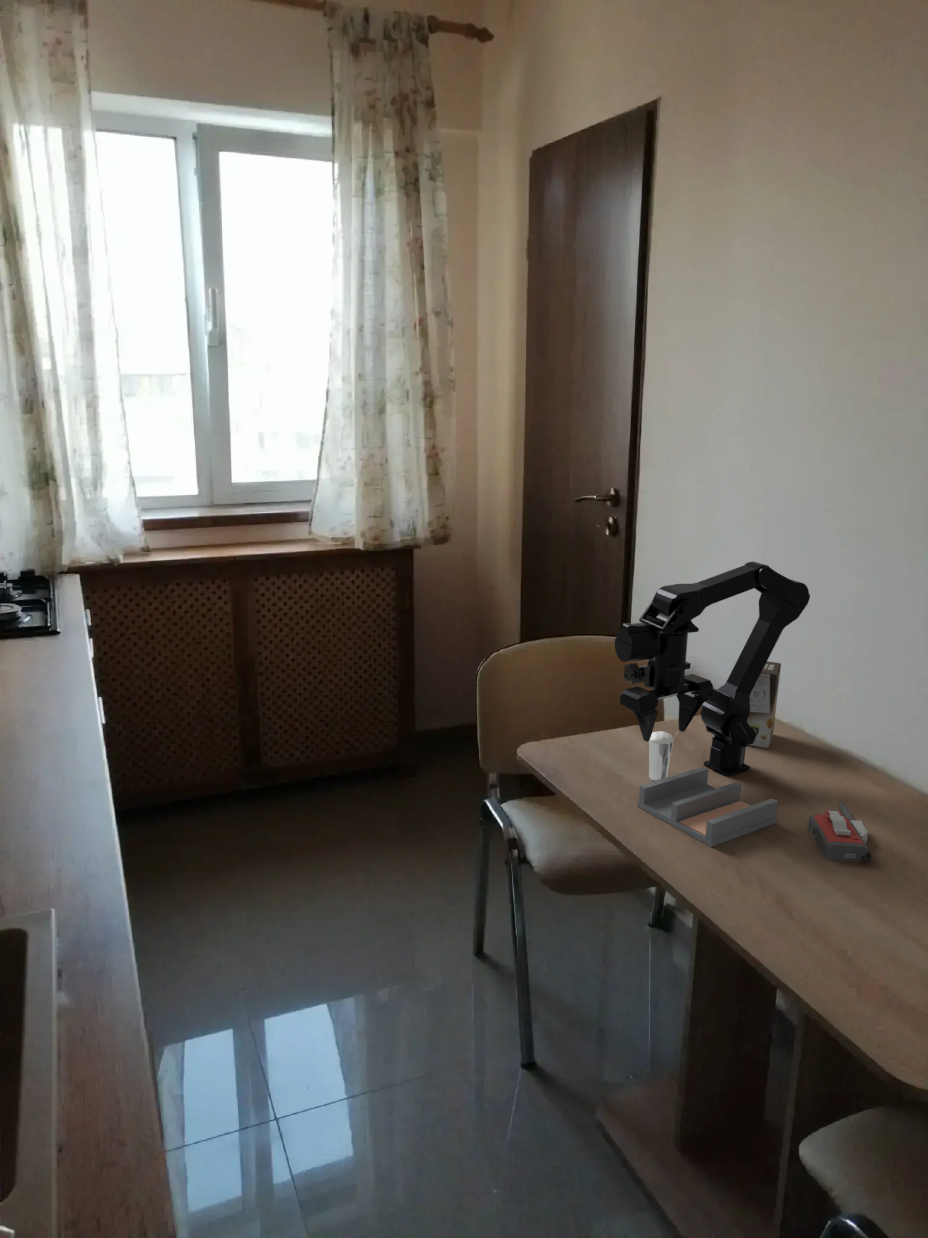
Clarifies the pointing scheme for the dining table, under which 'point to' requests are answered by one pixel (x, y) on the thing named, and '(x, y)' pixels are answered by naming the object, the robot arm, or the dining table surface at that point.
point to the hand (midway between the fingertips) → (664, 736)
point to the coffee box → (764, 704)
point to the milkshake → (659, 754)
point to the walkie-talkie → (840, 836)
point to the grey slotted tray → (705, 807)
